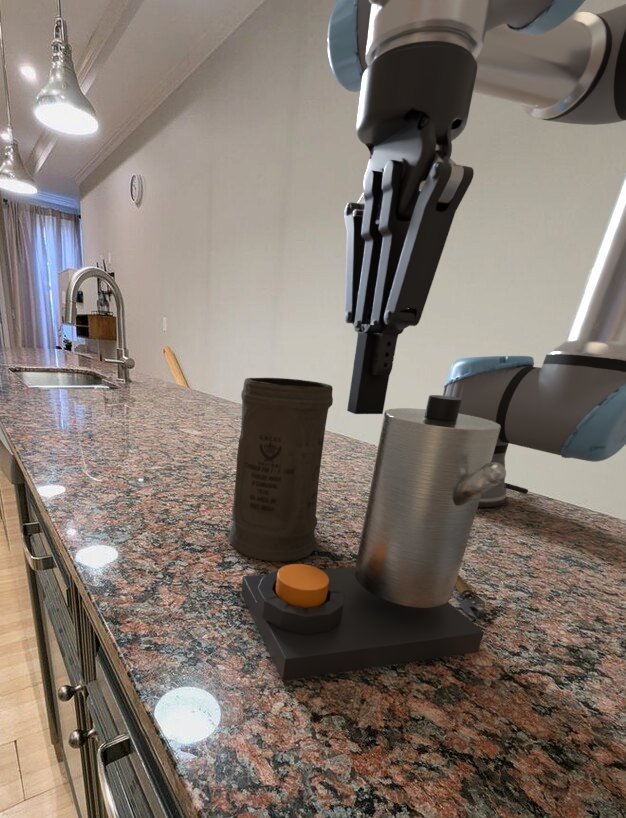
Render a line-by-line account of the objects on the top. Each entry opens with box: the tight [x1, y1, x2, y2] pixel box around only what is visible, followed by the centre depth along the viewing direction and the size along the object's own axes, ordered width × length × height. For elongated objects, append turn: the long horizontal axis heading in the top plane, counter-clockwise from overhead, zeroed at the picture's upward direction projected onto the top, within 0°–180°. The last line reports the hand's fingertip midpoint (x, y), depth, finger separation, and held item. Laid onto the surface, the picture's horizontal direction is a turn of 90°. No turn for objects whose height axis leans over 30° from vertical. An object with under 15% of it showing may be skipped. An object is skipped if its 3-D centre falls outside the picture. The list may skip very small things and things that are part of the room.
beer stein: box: [228, 377, 334, 563], centre depth 54 cm, size 15×11×20 cm
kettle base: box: [240, 566, 485, 682], centre depth 41 cm, size 18×12×4 cm, turn 105°
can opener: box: [454, 573, 486, 620], centre depth 47 cm, size 9×2×1 cm, turn 171°
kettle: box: [354, 394, 507, 608], centre depth 38 cm, size 9×14×17 cm, turn 15°
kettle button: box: [276, 563, 329, 608], centre depth 38 cm, size 4×4×2 cm
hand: (364, 412), depth 40 cm, fingers closed
